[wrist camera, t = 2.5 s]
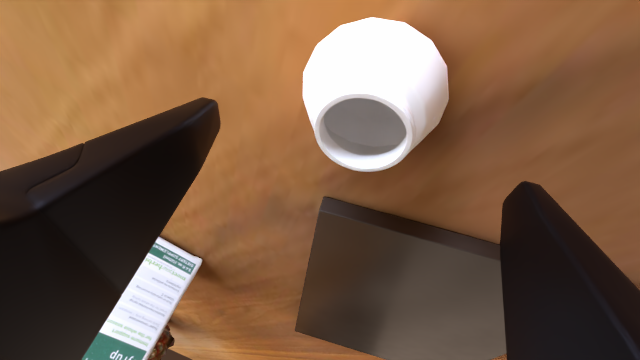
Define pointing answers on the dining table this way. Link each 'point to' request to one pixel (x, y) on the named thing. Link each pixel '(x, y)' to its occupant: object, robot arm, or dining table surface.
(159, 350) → the dragon fruit
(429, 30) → the dining table surface
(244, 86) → the dining table surface
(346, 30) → the lidless jar
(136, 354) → the syrup box
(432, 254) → the serving board
